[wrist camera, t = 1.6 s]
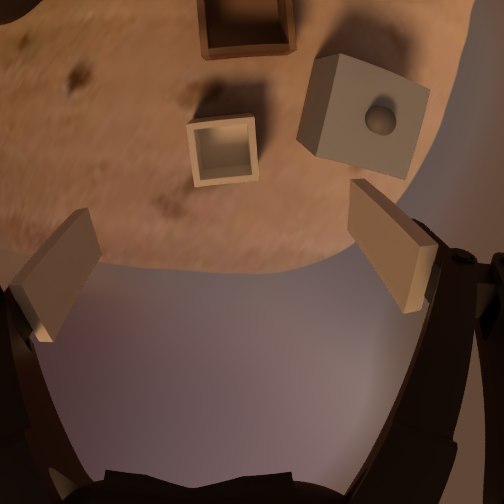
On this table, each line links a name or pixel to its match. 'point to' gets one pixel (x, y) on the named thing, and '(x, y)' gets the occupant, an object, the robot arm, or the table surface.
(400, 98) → the cover
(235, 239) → the table surface
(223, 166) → the beige tub
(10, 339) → the robot arm
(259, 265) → the table surface
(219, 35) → the walnut bin
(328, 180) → the table surface
